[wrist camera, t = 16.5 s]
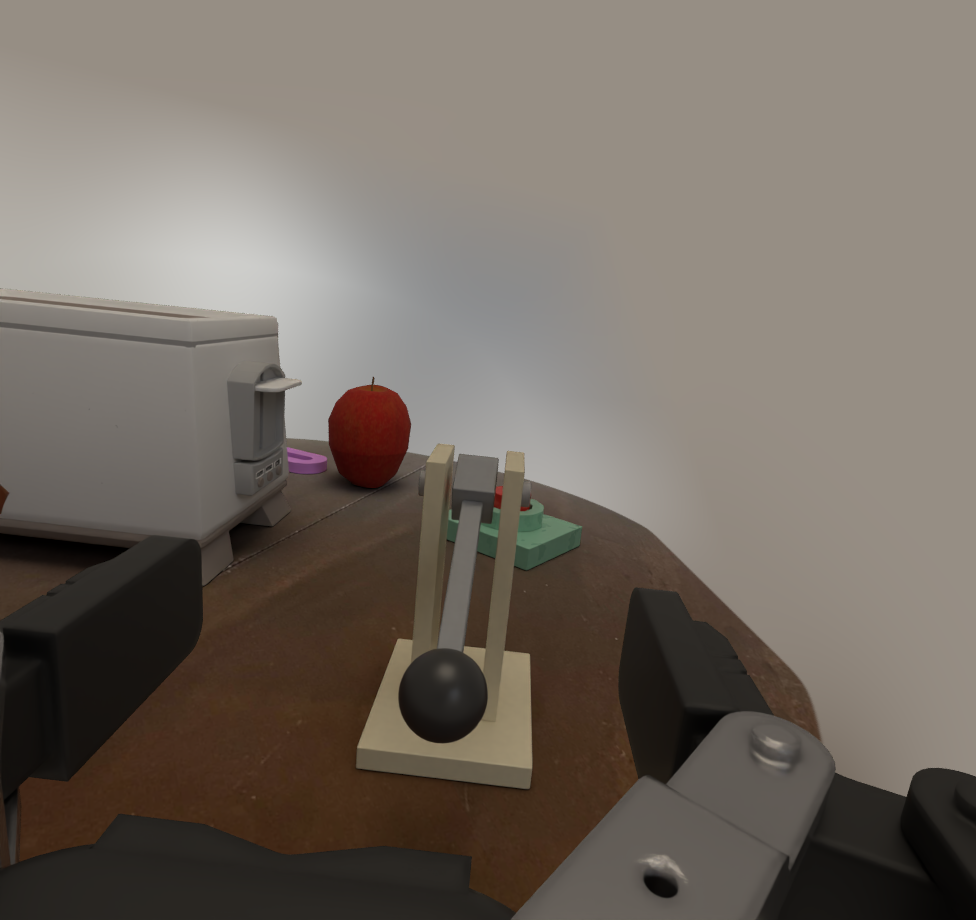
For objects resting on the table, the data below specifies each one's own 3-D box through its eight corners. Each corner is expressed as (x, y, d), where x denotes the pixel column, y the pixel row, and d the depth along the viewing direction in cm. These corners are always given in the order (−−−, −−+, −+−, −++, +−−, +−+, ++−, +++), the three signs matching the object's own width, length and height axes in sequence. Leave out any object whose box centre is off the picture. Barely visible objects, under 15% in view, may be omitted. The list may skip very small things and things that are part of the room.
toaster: (243, 590, 50) (245, 326, 45) (-173, 542, 51) (-215, 278, 46) (319, 514, 69) (326, 321, 64) (13, 479, 70) (-3, 287, 65)
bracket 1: (232, 457, 87) (232, 408, 86) (262, 451, 92) (263, 404, 91) (308, 476, 82) (309, 423, 81) (335, 468, 87) (337, 418, 86)
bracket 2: (529, 790, 32) (569, 494, 29) (355, 768, 33) (371, 473, 29) (527, 670, 43) (556, 444, 39) (396, 655, 43) (412, 429, 40)
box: (579, 545, 67) (584, 510, 66) (526, 570, 59) (531, 530, 58) (490, 515, 74) (494, 482, 73) (432, 534, 66) (435, 497, 65)
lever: (480, 764, 25) (486, 722, 23) (391, 753, 25) (387, 710, 23) (507, 497, 37) (512, 450, 34) (445, 490, 37) (446, 443, 34)
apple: (336, 470, 86) (341, 368, 83) (410, 477, 86) (417, 375, 83) (317, 492, 76) (320, 376, 73) (400, 500, 76) (408, 385, 73)
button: (536, 509, 66) (538, 493, 66) (514, 516, 63) (516, 499, 63) (506, 499, 69) (507, 483, 68) (483, 506, 66) (484, 489, 65)
